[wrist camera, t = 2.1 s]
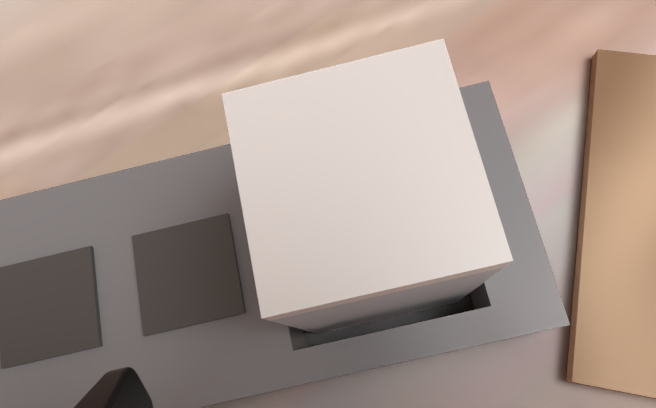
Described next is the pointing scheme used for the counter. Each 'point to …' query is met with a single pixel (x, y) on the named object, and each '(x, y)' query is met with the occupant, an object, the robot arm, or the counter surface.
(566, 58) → the counter surface
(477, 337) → the power strip
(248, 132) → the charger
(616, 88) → the cork pad
